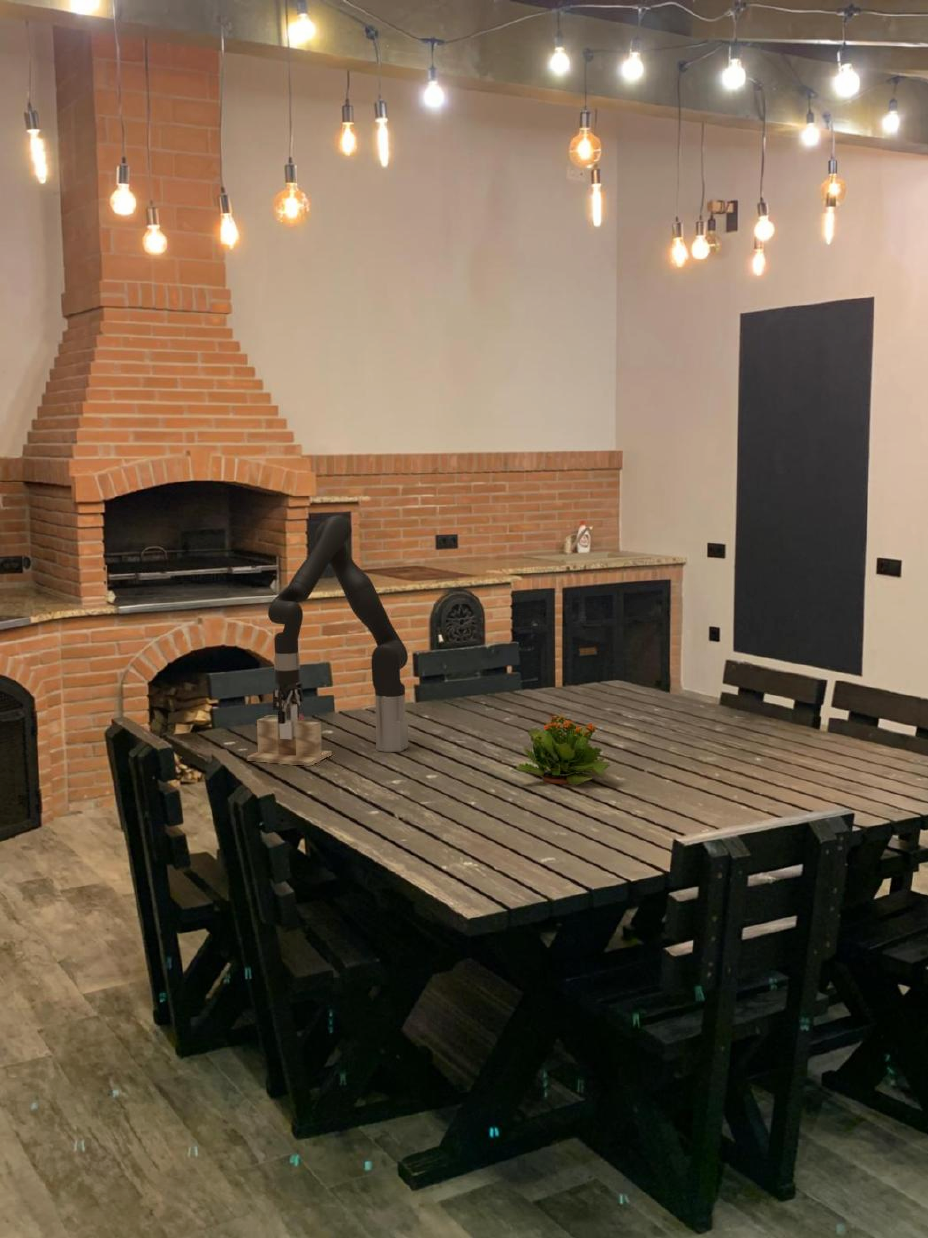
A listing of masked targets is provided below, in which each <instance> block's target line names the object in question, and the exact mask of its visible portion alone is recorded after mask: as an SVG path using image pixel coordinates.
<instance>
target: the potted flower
mask: <svg viewBox="0 0 928 1238" xmlns="http://www.w3.org/2000/svg"><path fill="white" fill-rule="evenodd" d="M561 725H562V726H561ZM594 733H596V724H592V723H587V724H585V727H584V728H583V727H582V726H581V725H576V724H575V723H574V722H573V721H572V720H567V721H566V718H565V716H564V715H559V717H558V715H553V716H551V718H550V721H549V722H547V724H546V725H544V727H543V730H540V729H538V728H537V727H536V728H533V727H531V728H529V730H528V732H527V735H529V737H530V741H531V743H532V749H533V751H532V750H530V749H529V748H526V747H525V748H523V751H524V753H525V754H526V756H527V757H528V759H529V760H531V762H533V764H535V766H534V765H532V764H531V763H527V762H525V763H524V764H523V763H520V764H518V766H516V770H519V771H523V772H525V773H529V774H534V775H538V776H541V778H542V781H544V782H545V783H549V784H554V785H567V784H569V785H570V786H573V787H574V786H579V785H581V784H582V783H584V782H587V781H590V780H592V779H593V776H591V775H590V774H593V773H595V774H598V775H599V776H602V774H603V772H604V771H605V770H606V769H607V768H609V767H610V766H612V764H610V761H604V760H605V758H604V757H602V758H598V757H599V756H601V753H602V748H600V747H599V748H598V747H597V746H596V747H594V748H593V746H591V744H590V743H589V742H590V739H592V736H593V734H594ZM536 765H537V766H536Z"/></svg>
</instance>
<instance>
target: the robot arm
mask: <svg viewBox="0 0 928 1238" xmlns="http://www.w3.org/2000/svg"><path fill="white" fill-rule="evenodd" d="M351 535H352V525H351V523H350V521H349V520H348V519H347V518H346V517H344V516H342V515H333V516H330V517H328V518H327V519H325V520H324V521H323V522H322V523H320V525H318V527H317V529H316V531H315V538H316V542H317V543H316V545H315V547H314V548H313V550H312V551H311V552H310V554H309V555H308V556H307V558H306V559H305V560H304V561H303V563H302V564H301V565H300V567H299V568H298V569H297V570H296V572H295V574H294V575H293V577H292V578H291V580H290V582H289V583H288V585H287V586H286V587H285V588H284V589H283V590H282V591H281V592H280V593H278V594H277V596H276V597H275V598H274V599H273V600H272V602H271V603H270V604H269V605H268V606H269V607H268V611H267V613H268V614H267V617H268V619H269V620H270V621H271V622H272V623H274V624H276V625H284V626H283V629H282V631H281V632H277V633H276V634H275V636H274V639H273V640H274V642H273V643H274V658H273V662H274V664H273V667H274V671H273V672H274V683H275V684H276V685H278V689H273V690H272V710H273V711H276V712H277V715H278V723H279V724H284V723H285V722H286V720H285V709H286V706H287V705H288V704H289V701H290V704H297V715H298V718H299V713H300V706H301V703H303V701H304V693H303V683H302V682H301V664H300V663H301V662H300V660H301V659H300V655H299V654H300V653H299V636H300V632H301V627H302V625H303V624H302V623H303V618H304V613H303V608H302V606H301V604H300V603H304V602H306V601H307V600H308V598H309V597H310V595H311V594H312V592H313V591H314V589H315V587H316V585H318V582H319V581H320V579H321V577H322V575H323V573H324V572H325V570H326V569H327V567H328V565H329V564H330V566H331V568H332V570H333V572H334V575H335V576H336V578H337V581H338V582H339V585H340V587H341V589H342V592H343V594H344V596H345V598H346V600H347V602H348V604H349V606H350V609H351V610H352V612H353V614H354V615H355V616H356V617H357V619H359V620H360V621H361V623H362V624H363V625H364V626H365V627H366V628H367V629H368V631H369V633H371V635H372V637H373V640H374V642H375V644H376V647H375V648H374V649H373V651H372V654H371V663H370V664H371V678H372V679H371V681H372V686H373V689H374V695H375V697H374V700H375V701H374V702H375V703H374V704H375V709H374V710H375V743H376V745H375V748H376V750H377V751H379V752H383V753H385V752H387V753H391V752H393V753H394V752H399V753H400V752H404V749H405V750H406V749H408V748H409V718H408V717H406V688H405V687H406V686H405V684H404V683H402V681H401V670H402V669H403V668H404V667H405V666H406V665H407V663H408V660H409V659H408V658H409V656H408V650H407V647H406V646H405V644H404V643H403V641H402V639H401V638H400V636H399V635H398V633H397V631H396V630H395V628H394V626H393V625H392V623H391V620H390V618H389V616H388V614H387V612H386V609H385V608H384V606H383V604H382V601H381V599H380V596H379V594H378V592H377V590H376V588H375V586H374V584H373V582H372V580H371V579H370V577H369V576H368V575H367V574H366V573H365V572H364V570H363V569H361V568H360V566H358V565H357V564H356V563H355V562H354V560H353V558H352V557H351V554H350V552H349V549H348V547H347V545H346V543H347V542H348V541H349V540H350V538H351ZM282 705H283V707H282Z"/></svg>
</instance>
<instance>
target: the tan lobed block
mask: <svg viewBox="0 0 928 1238" xmlns="http://www.w3.org/2000/svg"><path fill="white" fill-rule="evenodd" d="M256 731H257V733H256V734H257V735H256V736H257V752H254V753H252V754H250V755H248V756H247V757H246V758H247V759H246V760H247V761H260V762H267V763H266V764H270V763H279V764H278V765H282V764H289V765H288V766H293V765H313V766H315V765H316V764H315V763H317V762H319V761H320V760H322V759H324V758H326V757H329V756H331V755H332V754H333V753H332V752H333V751H332V750H324V749H323V750H322V723H321V721H320V722H318V721H308V720H307V721H306V720H305V721H299V722H296V723H295V733H296V738H294V739H280V725H279V723H278V714H270V715H269V714H268V715H265V716H264V717H261V718H259V719H257V720H256ZM331 757H332V756H331ZM329 758H330V757H329ZM247 761H246V762H247ZM319 763H320V762H319ZM314 764H315V765H314ZM317 764H318V763H317Z"/></svg>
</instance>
